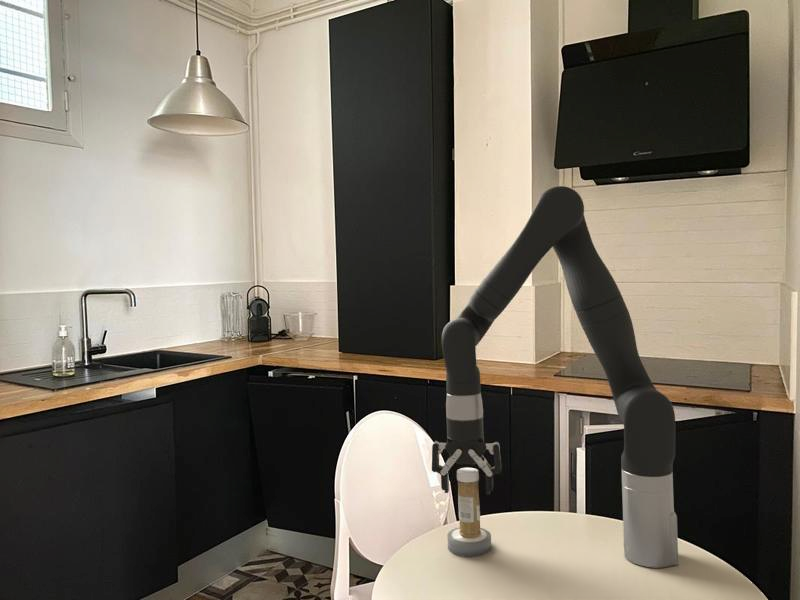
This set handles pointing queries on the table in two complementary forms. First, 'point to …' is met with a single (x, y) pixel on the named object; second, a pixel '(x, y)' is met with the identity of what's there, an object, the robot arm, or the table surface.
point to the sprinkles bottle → (468, 502)
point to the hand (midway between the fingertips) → (467, 492)
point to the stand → (469, 543)
